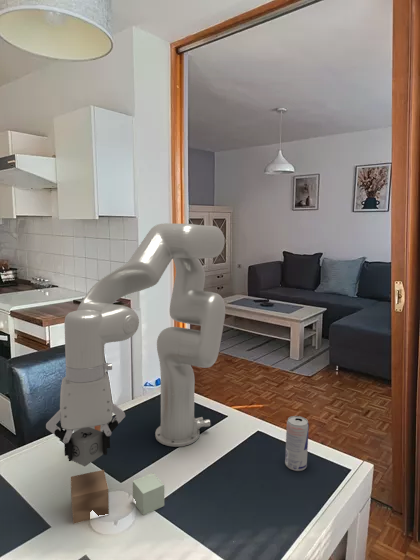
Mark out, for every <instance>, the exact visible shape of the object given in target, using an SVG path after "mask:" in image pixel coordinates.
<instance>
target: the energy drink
mask: <svg viewBox="0 0 420 560" xmlns="http://www.w3.org/2000/svg"><path fill="white" fill-rule="evenodd" d="M309 426H310V425H309V421H308V419H307V418H305V417H303V416H300V415H299V416H298V415H293V416H292V415H291V416H289V417H288V418H287V421H286V433H285V434H286V436H285V437H286V438H285V454H284V455H285V458H284V459H285V460H284V464H285V466H286V467H287V468H288V469H289V470H290V471H295V472H302V471H304V470H305V469H306V468H307V467H308V451H309V450H308V447H309V429H310V428H309Z"/></svg>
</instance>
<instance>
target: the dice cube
mask: <svg viewBox="0 0 420 560" xmlns="http://www.w3.org/2000/svg"><path fill="white" fill-rule="evenodd" d="M71 441H72V460H71V462H74V463H76V464H78V465H81V466H83V467H86V466H87V465H90V464H91V463H93V462H94V461H95V460H97V459H99V458H100V457H101V456H103V455H104V454H103V432H101V431H98V430H96V429H93V428H90V427H87V428H81V429H79V430H77V431H75V432H74V431H73V433H72V435H71ZM67 459H68V460H69V458H68V457H67Z"/></svg>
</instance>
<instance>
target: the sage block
mask: <svg viewBox="0 0 420 560" xmlns="http://www.w3.org/2000/svg"><path fill="white" fill-rule="evenodd" d="M133 498H134V499H135V501H136V505H135V506H136V508H137V510H138V511H139V512H140V514H142V515H143V516H145V515H148V514H150V513H152V512H154V511H156V510H158V509H160V508H162V507H163V508H164V507H165V484H164V483H163V482H162V481H161V479H159V477H157V476H156V474H155V473H154V472H151V473H149V474H147V475H144V476H143V477H140V478H137V479H135V480H132V499H133Z"/></svg>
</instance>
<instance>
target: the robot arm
mask: <svg viewBox="0 0 420 560" xmlns="http://www.w3.org/2000/svg"><path fill="white" fill-rule="evenodd" d="M225 240H226V239H225V235H224V233H223V231H222V230H221V228H219V227H218V226H215V225H202V224H194V223H168V222H167V223H166V222H165V223H164V222H163V223H159V224H156V225H154V226H153V227H151V228H150V230H148V232H147V234H146V235H145V236H144V238H143V240H142V241H141V242H140V244H139V245H138V247H137V248H136V250H135V252H133V254H132V255H131V257H130V259H129V260H128V261H127V263H125V264H123V265H122V266H120V267H118V268H116V269H115V270H113V271H112V272H110V273H108V274H106V275H105V276H104V277H102V278H101V279H100V280H97V282H96V283H95V284H94V285H92V287H91V288H90V289H89V290H88V292H87V293H86V295H85V296H84V297H83V298H82V300H81V301H80V303H79V305H78V307H77V309H76V310H74V311H70V312H68V313H67V314H66V315H65V317H64V349H65V351H64V352H65V355H64V357H65V376H64V377H62V379H61V385H60V392H59V393H60V396H59V410H58V411H57V412H56V413H55V414H54V415H53V416H52V417H50V419H49V420H48V421H47V422H46V424H45V428H46V430H47V431H49V432H50V433H52V434H53V435H54V437H56V438H58V439H59V440H60V441H62V442H63V444H64V447H63V448H64V457H67V459H68V458H69V459H68V462H72V441H71V435H72V433H74V429H80V428H87V427H93V426H99V425H101V427H102V429H103V455H108V449H110V448H111V441H110V440H111V438H110V437H111V436H112V433H113V431H115V429H116V428H117V427H118V426H119V424H120V423H121V422H122V421H123V419H124V418H126V413H125V411H124V410H122V409H121V408H119V406H118V405H116V404H114V402H113V401H112V400H113V399H112V390H111V385H110V383H111V381H110V377H109V374H108V373H107V372H109V371H112V370H113V364H112V362H111V363H110V362H109V363H108V362H106V361H105V360H106V358H105V354H106V353H105V346H106V344H108V343H109V344H111V343H116V342H118V343H119V342H123V341H126V340H129V339H130V338H132V337H133V336H134V335H135V334H136V332H137V331H138V329H139V325H140V319H139V315H138V314H137V312H136V311H135V310H134V309H133V308H130V307H129V306H126V305H122V304H121V305H120V304H114V303H115V302H117V301H118V300H119V299H122V298H123V297H126V296H128V295H131V294H134V293H137V292H141V291H143V290H146V289H150V288H152V287H154V286H155V285H157V284H158V283H159V281H160V279H161V278H162V276H163V275H164V273H165V271H166V270H167V268H168V266H169V264H170V263H171V261H172V260H173V263H174V266H175V267H174V268H175V276H174V282H173V283H174V284H173V288H172V293H171V299H170V302H169V303H170V304H169V316H170V318H171V319H172V320H173V321H175V322H178V323H181V324H188V325H192V326H193V325H195V326H200V330H198V329H192V328H187V327H186V328H185V327H180V326H169V327H166V328H164V329H163V330H162V331H160V332H159V335H158V336H157V339H156V352H157V356H158V360H159V367H160V368H159V369H160V425H159V426H158V427H157V428H156V429H155V433H154V434H155V435H154V436H155V439H156V441H157V442H159V443H160V444H162V445H165V446H167V447H175V448H177V447H185V446H188V445H192V444H193V443H195V442H196V441H197V440H198V439H199V437H200V429H201V428H207V427H210V426H211V420H210V419H209V418H208V419H204V418H203V416H201V417H195V383H196V381H195V372H194V369H193V367H192V366H194V367H198V368H203V369H204V368H205V369H207V368H211V367H213V366H214V364H215V363H216V362H217V360H218V356H219V353H220V346H221V341H222V336H223V332H224V331H223V329H224V324H225V318H226V304H225V300H224V298H223V297H222V296H221V295H220V294H219V293H217V292H212V291H206V290H205V291H204V289H205V288H204V287H205V281H206V271H205V268H204V267H203V264H202V262H201V261H200V260H201V259H214V258H216V257H219V255H221V254H222V252H223V249H224V247H225ZM113 415H115V416H114V417H113ZM58 423H60V425H61V427H60V426H58V425H57V424H58Z"/></svg>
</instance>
